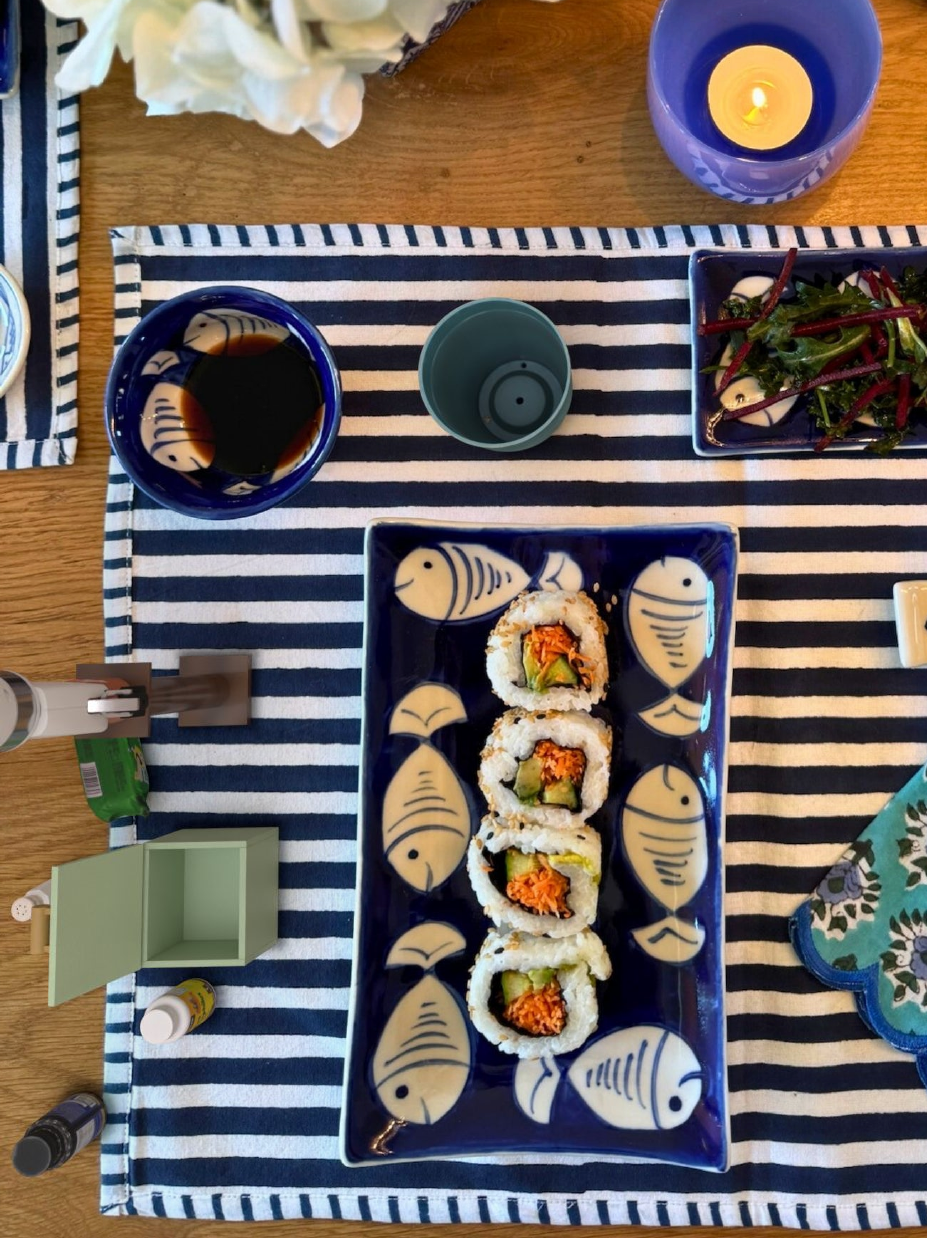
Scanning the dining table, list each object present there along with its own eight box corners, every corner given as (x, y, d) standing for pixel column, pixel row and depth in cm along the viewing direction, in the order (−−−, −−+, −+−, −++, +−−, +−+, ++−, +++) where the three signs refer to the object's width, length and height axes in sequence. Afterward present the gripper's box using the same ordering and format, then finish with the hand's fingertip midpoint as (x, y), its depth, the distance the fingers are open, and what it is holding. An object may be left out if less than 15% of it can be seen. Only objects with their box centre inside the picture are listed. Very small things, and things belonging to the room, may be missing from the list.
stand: (182, 725, 142) (69, 743, 117) (183, 656, 142) (71, 659, 118) (251, 724, 141) (152, 741, 117) (251, 654, 142) (153, 657, 117)
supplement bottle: (217, 1022, 138) (178, 1052, 128) (174, 1021, 138) (131, 1051, 128) (219, 976, 139) (180, 1003, 128) (176, 975, 139) (134, 1002, 129)
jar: (88, 724, 117) (48, 729, 110) (89, 677, 117) (49, 679, 110) (134, 723, 117) (97, 728, 110) (135, 676, 117) (98, 678, 110)
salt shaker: (101, 872, 140) (49, 892, 129) (90, 914, 140) (37, 937, 129) (61, 863, 140) (5, 882, 129) (50, 905, 140) (-7, 928, 129)
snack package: (110, 826, 141) (87, 833, 135) (84, 708, 142) (61, 711, 137) (163, 811, 141) (143, 818, 136) (137, 694, 142) (116, 696, 137)
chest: (278, 826, 140) (246, 840, 130) (277, 943, 139) (244, 965, 129) (182, 829, 140) (142, 842, 131) (180, 945, 139) (139, 968, 129)
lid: (58, 866, 117) (17, 865, 118) (54, 1006, 116) (12, 1004, 117) (143, 843, 130) (106, 843, 131) (140, 969, 129) (103, 967, 130)
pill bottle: (52, 1108, 138) (-6, 1149, 127) (92, 1080, 138) (38, 1118, 127) (78, 1150, 137) (22, 1195, 126) (118, 1121, 137) (66, 1163, 126)
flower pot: (430, 439, 144) (393, 413, 127) (484, 316, 146) (454, 274, 129) (555, 490, 143) (534, 470, 127) (608, 366, 145) (594, 330, 128)
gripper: (-108, 756, 97) (15, 739, 114) (83, 752, 97) (178, 735, 114) (-105, 672, 98) (17, 667, 115) (86, 667, 97) (179, 663, 115)
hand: (97, 701), depth 114 cm, fingers open, 9 cm apart
